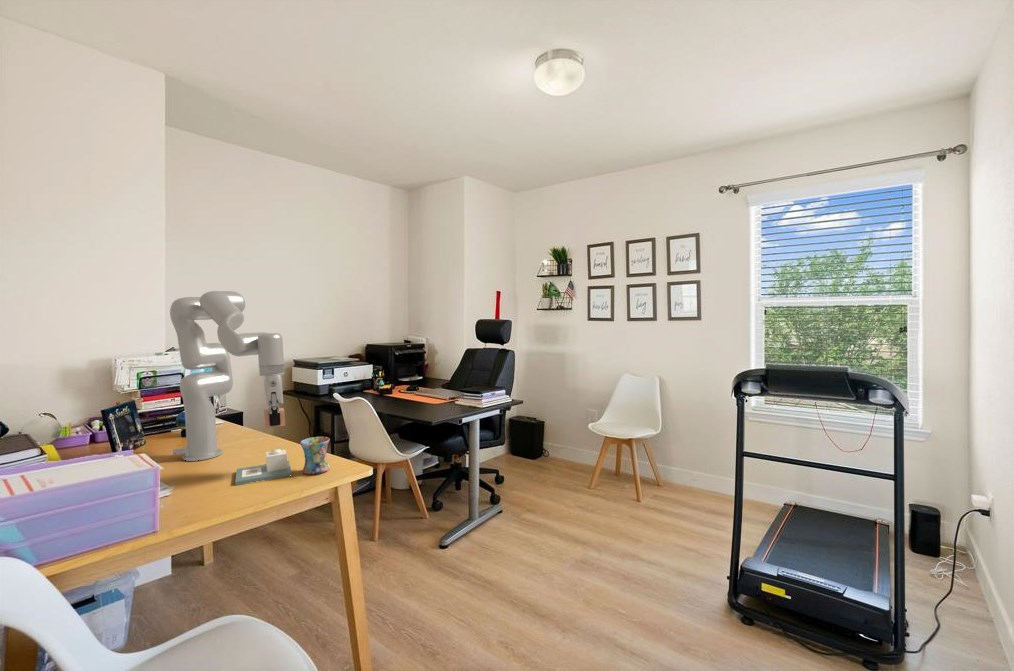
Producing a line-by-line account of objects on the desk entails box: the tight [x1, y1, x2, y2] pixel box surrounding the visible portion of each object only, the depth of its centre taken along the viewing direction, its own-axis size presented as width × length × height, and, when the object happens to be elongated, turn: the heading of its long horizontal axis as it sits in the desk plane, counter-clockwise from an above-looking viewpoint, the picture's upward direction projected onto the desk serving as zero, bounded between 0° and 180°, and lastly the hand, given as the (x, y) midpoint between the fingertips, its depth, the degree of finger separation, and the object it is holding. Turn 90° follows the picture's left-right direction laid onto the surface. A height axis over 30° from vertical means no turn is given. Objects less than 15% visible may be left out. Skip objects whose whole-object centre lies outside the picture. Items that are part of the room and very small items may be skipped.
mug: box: [299, 436, 331, 475], centre depth 158 cm, size 12×9×11 cm
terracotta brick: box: [263, 407, 286, 429], centre depth 159 cm, size 6×6×5 cm
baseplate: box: [235, 448, 293, 486], centre depth 158 cm, size 16×14×7 cm
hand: (274, 422), depth 160 cm, fingers closed on terracotta brick, 6 cm apart
